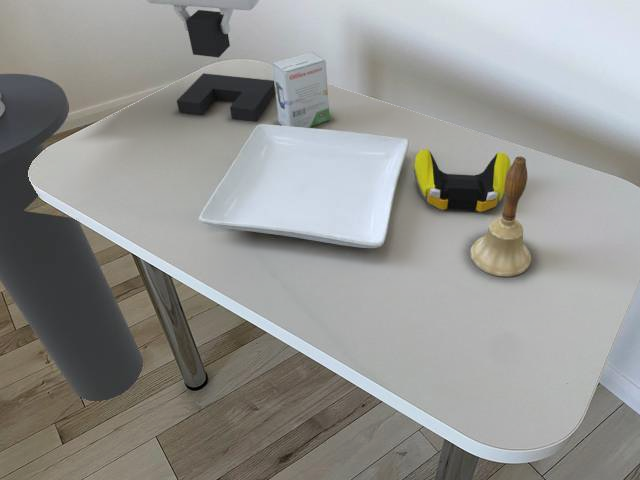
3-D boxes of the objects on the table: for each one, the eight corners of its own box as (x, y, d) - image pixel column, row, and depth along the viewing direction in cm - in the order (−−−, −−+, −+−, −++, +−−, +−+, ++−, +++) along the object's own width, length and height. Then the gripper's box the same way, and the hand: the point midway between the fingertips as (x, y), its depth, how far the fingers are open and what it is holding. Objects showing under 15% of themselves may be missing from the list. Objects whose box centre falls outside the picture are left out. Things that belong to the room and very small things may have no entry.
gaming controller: (413, 173, 92) (411, 211, 85) (415, 144, 88) (413, 181, 81) (505, 177, 90) (511, 216, 83) (511, 149, 87) (518, 187, 80)
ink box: (291, 134, 101) (284, 72, 93) (277, 122, 105) (270, 62, 96) (330, 120, 105) (327, 59, 96) (316, 109, 108) (312, 49, 100)
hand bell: (473, 276, 75) (492, 179, 63) (467, 235, 80) (483, 140, 69) (536, 277, 74) (566, 180, 63) (524, 236, 80) (550, 141, 69)
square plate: (200, 239, 81) (194, 218, 78) (260, 140, 100) (257, 120, 97) (382, 263, 77) (383, 242, 74) (409, 155, 96) (410, 135, 93)
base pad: (179, 112, 108) (176, 100, 106) (205, 84, 116) (203, 73, 114) (256, 121, 105) (254, 109, 103) (277, 92, 113) (276, 80, 111)
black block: (192, 54, 99) (185, 20, 94) (205, 43, 102) (198, 9, 98) (218, 57, 98) (212, 23, 94) (230, 45, 101) (224, 12, 97)
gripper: (121, -54, 88) (146, 33, 97) (241, -48, 84) (254, 43, 93) (142, -65, 92) (163, 20, 102) (256, -60, 88) (268, 28, 98)
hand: (208, 31), depth 97 cm, fingers closed on black block, 5 cm apart
